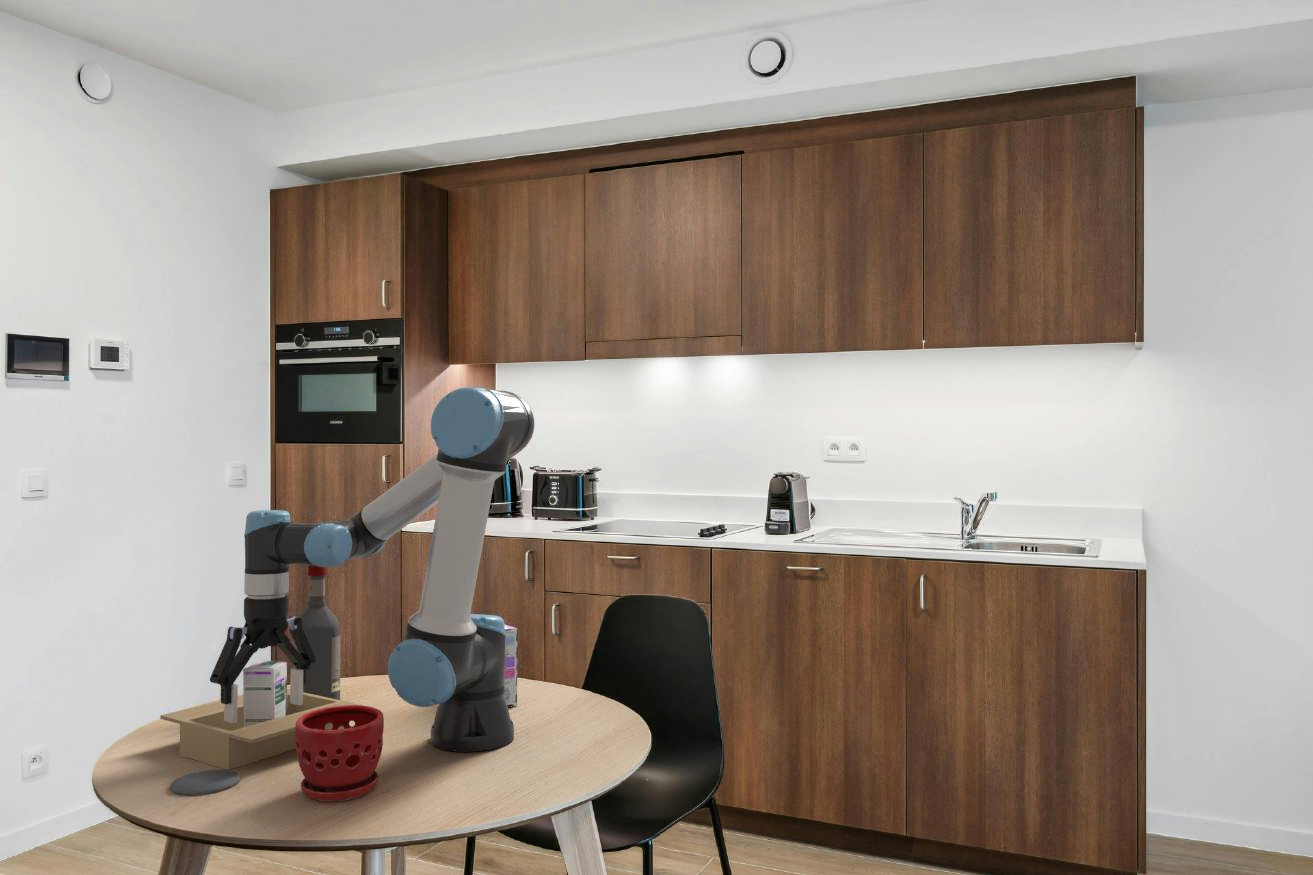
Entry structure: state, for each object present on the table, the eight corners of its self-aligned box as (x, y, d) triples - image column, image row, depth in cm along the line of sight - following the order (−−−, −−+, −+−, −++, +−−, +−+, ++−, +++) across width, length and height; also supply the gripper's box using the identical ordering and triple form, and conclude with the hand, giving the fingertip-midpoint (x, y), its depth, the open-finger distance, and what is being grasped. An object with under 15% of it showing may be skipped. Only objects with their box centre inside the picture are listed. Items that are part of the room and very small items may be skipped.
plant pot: (283, 789, 149) (284, 713, 149) (365, 772, 157) (366, 700, 157) (310, 815, 139) (311, 733, 139) (396, 795, 147) (397, 718, 147)
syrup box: (274, 749, 169) (275, 667, 169) (241, 748, 169) (242, 667, 169) (287, 739, 175) (288, 660, 175) (256, 738, 175) (256, 660, 175)
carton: (366, 738, 175) (366, 706, 175) (250, 776, 155) (251, 739, 155) (276, 717, 189) (277, 686, 189) (159, 749, 168) (160, 715, 169)
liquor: (293, 711, 193) (295, 563, 194) (292, 700, 202) (293, 559, 202) (340, 706, 197) (341, 562, 197) (337, 695, 205) (338, 557, 206)
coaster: (253, 780, 153) (253, 776, 153) (194, 800, 144) (194, 796, 144) (215, 769, 158) (215, 765, 158) (157, 787, 150) (157, 783, 150)
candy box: (518, 706, 197) (518, 627, 197) (492, 711, 194) (492, 630, 194) (490, 692, 209) (491, 617, 209) (465, 696, 205) (466, 620, 205)
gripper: (310, 585, 185) (308, 694, 184) (189, 602, 163) (187, 725, 163) (336, 589, 181) (334, 700, 181) (215, 607, 160) (213, 733, 159)
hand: (264, 712), depth 172 cm, fingers open, 13 cm apart
